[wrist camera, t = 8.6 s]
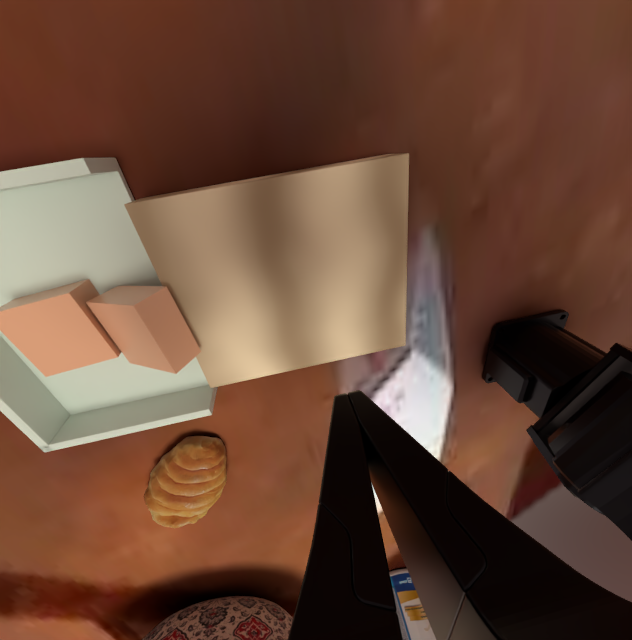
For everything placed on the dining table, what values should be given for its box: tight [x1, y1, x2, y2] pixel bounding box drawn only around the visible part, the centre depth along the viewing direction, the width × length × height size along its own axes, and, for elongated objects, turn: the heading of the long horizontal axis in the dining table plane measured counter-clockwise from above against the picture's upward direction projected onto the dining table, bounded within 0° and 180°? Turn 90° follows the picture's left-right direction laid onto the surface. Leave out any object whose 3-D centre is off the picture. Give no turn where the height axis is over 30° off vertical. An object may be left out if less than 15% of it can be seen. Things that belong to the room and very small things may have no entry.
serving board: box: [124, 153, 409, 388], centre depth 18 cm, size 14×12×2 cm
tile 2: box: [0, 279, 121, 377], centre depth 17 cm, size 4×4×2 cm
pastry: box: [144, 436, 227, 528], centre depth 25 cm, size 9×7×4 cm
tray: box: [0, 158, 218, 452], centre depth 17 cm, size 12×16×3 cm
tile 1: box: [86, 286, 201, 374], centre depth 17 cm, size 4×4×2 cm
